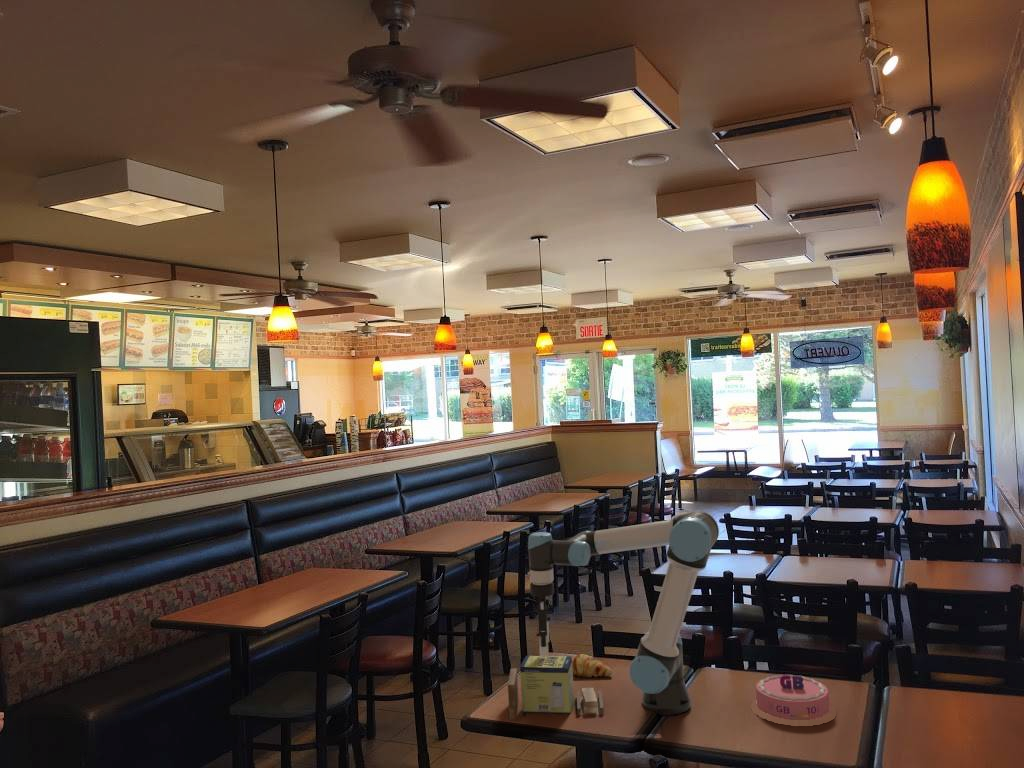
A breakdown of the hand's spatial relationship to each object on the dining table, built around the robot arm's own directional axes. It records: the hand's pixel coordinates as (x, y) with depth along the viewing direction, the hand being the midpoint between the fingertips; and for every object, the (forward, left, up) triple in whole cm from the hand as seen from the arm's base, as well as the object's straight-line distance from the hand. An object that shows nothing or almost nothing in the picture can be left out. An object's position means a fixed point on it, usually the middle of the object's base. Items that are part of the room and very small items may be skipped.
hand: (544, 649), depth 252 cm
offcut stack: (-13, 0, -18) cm, 23 cm away
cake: (-75, +5, -20) cm, 78 cm away
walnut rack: (-3, 0, -19) cm, 20 cm away
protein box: (0, 0, -20) cm, 20 cm away
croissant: (-12, -30, -20) cm, 38 cm away
